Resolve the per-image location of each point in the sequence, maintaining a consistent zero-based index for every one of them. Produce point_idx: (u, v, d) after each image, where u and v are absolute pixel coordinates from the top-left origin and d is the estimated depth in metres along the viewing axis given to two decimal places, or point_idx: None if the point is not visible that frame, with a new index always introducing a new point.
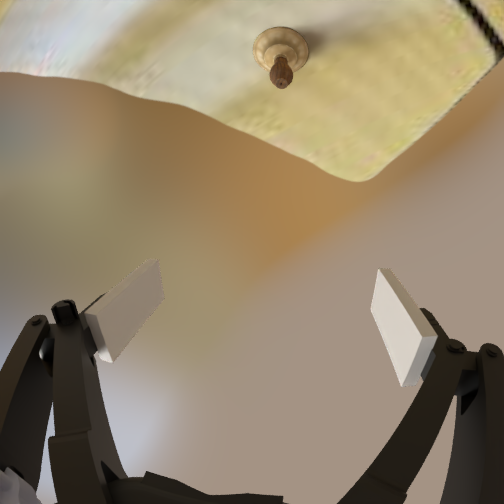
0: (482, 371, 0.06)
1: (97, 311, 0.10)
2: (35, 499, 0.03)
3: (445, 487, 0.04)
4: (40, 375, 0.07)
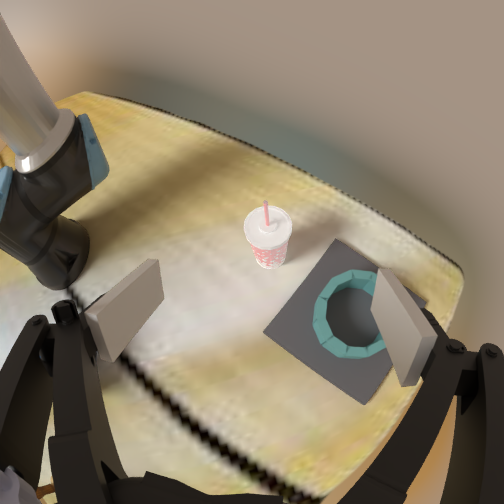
0: (482, 371, 0.06)
1: (97, 311, 0.10)
2: (35, 499, 0.03)
3: (445, 487, 0.04)
4: (40, 375, 0.07)
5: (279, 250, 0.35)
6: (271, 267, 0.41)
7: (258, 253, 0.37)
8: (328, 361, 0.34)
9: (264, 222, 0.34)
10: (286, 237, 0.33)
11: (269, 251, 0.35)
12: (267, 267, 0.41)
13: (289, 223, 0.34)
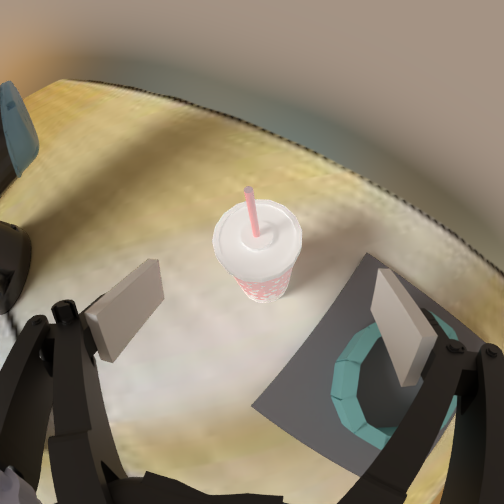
0: (482, 371, 0.06)
1: (97, 311, 0.10)
2: (35, 499, 0.03)
3: (445, 487, 0.04)
4: (40, 375, 0.07)
5: (278, 280, 0.20)
6: (265, 301, 0.25)
7: (241, 283, 0.21)
8: (352, 446, 0.18)
9: (250, 230, 0.18)
10: (291, 259, 0.17)
11: (260, 283, 0.19)
12: (259, 301, 0.25)
13: (297, 232, 0.18)
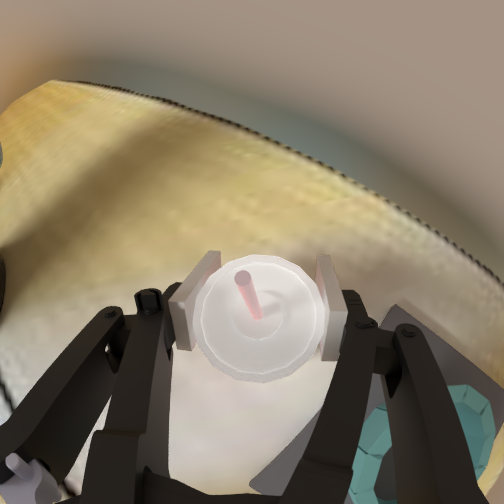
0: (402, 353, 0.08)
1: (183, 299, 0.12)
2: (55, 494, 0.03)
3: (396, 471, 0.05)
4: (101, 371, 0.08)
5: None
6: None
7: None
8: None
9: (248, 308, 0.12)
10: (308, 353, 0.11)
11: None
12: None
13: (317, 310, 0.12)
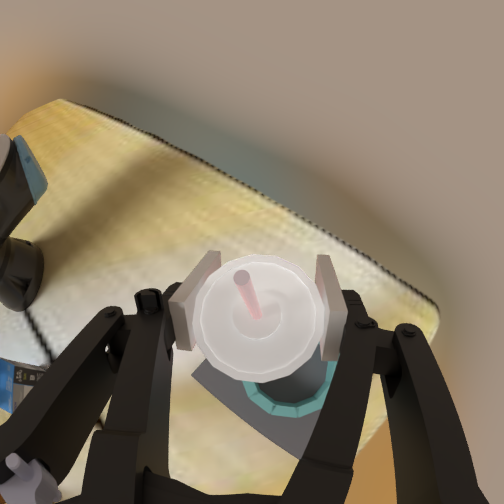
0: (402, 353, 0.08)
1: (183, 299, 0.12)
2: (55, 494, 0.03)
3: (396, 471, 0.05)
4: (101, 371, 0.08)
5: None
6: None
7: None
8: (259, 412, 0.29)
9: (247, 307, 0.12)
10: (308, 353, 0.11)
11: None
12: None
13: (317, 309, 0.12)
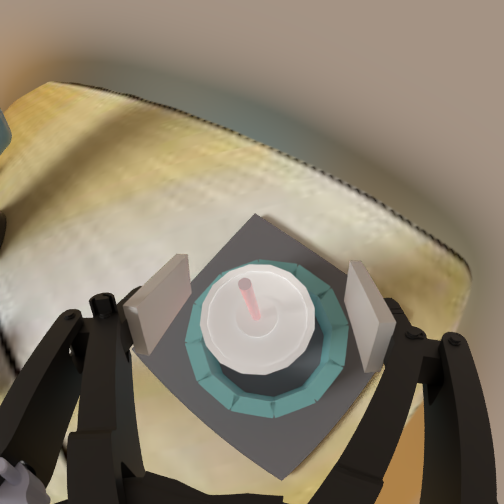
0: (446, 361, 0.07)
1: (137, 304, 0.11)
2: (44, 496, 0.03)
3: (423, 478, 0.05)
4: (68, 372, 0.08)
5: None
6: None
7: None
8: (222, 408, 0.20)
9: (248, 310, 0.14)
10: (302, 347, 0.13)
11: None
12: None
13: (308, 309, 0.14)
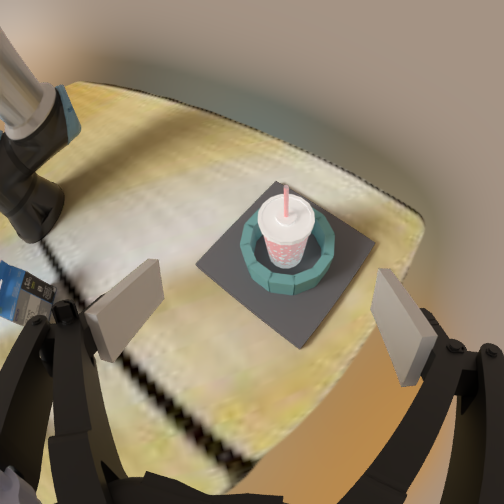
0: (482, 371, 0.06)
1: (97, 311, 0.10)
2: (35, 499, 0.03)
3: (445, 487, 0.04)
4: (40, 375, 0.07)
5: (300, 245, 0.30)
6: (288, 267, 0.35)
7: (275, 250, 0.31)
8: (259, 295, 0.35)
9: (282, 213, 0.29)
10: (309, 229, 0.28)
11: (289, 247, 0.29)
12: (283, 266, 0.35)
13: (311, 213, 0.29)
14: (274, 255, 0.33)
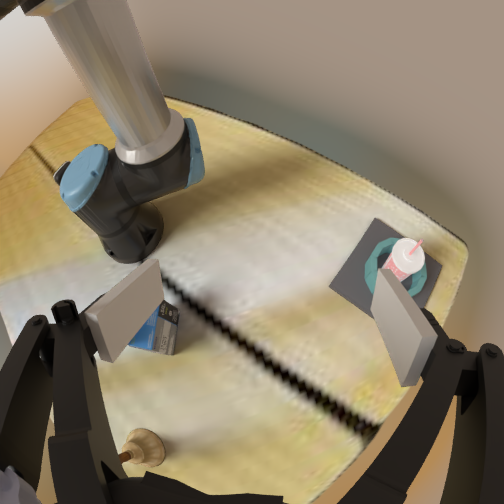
0: (482, 371, 0.06)
1: (97, 311, 0.10)
2: (35, 499, 0.03)
3: (445, 487, 0.04)
4: (40, 375, 0.07)
5: None
6: None
7: (397, 275, 0.41)
8: None
9: (407, 252, 0.39)
10: (423, 263, 0.38)
11: (409, 274, 0.39)
12: None
13: (422, 251, 0.39)
14: None
